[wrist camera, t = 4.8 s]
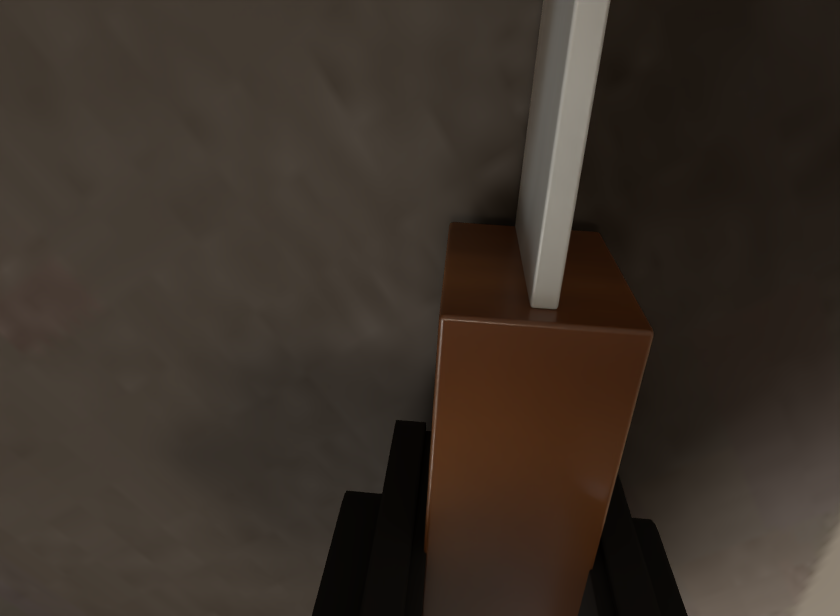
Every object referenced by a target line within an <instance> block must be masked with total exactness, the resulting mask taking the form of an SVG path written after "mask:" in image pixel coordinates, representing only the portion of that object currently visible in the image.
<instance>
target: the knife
mask: <svg viewBox="0 0 840 616" xmlns="http://www.w3.org/2000/svg"><path fill="white" fill-rule="evenodd" d="M610 1H611V0H543V6H542V14H541V22H540V30H539V38H538V46H537V54H536V62H535V70H534V78H533V86H532V94H531V102H530V110H529V118H528V126H527V134H526V142H525V150H524V158H523V166H522V174H521V182H520V191H519V199H518V207H517V215H516V223H515V226H504V225H489V224H475V223H460V222H452V223H450V225H449V233H448V242H447V251H446V260H445V269H444V278H443V287H442V296H441V305H440V314H439V327H438V342H437V357H436V371H435V386H434V401H433V416H432V431H431V446H430V461H429V476H428V491H427V506H426V521H425V535H424V552H425V553H426V566H425V580H424V594H423V608H422V616H578V613H579V609H580V605H581V601H582V597H583V594H584V590H585V586H586V582H587V578H588V574H589V570H591V569H593V565H594V561H595V557H596V554H597V550H598V546H599V542H600V538H601V535H602V531H603V527H604V523H605V519H606V515H607V512H608V508H609V504H610V500H611V496H612V493H613V489H614V485H615V481H616V477H617V473H618V470H619V466H620V462H621V458H622V454H623V451H624V447H625V443H626V439H627V435H628V431H629V428H630V424H631V420H632V416H633V412H634V409H635V405H636V401H637V397H638V393H639V389H640V386H641V382H642V378H643V374H644V370H645V367H646V363H647V359H648V355H649V351H650V347H651V344H652V340H653V336H654V332H653V329H652V328H651V326H650V324H649V322H648V320H647V318H646V317H645V315H644V313H643V311H642V309H641V308H640V306H639V304H638V302H637V300H636V298H635V297H634V295H633V293H632V291H631V289H630V288H629V286H628V284H627V282H626V280H625V278H624V277H623V275H622V273H621V271H620V269H619V268H618V266H617V264H616V262H615V260H614V258H613V257H612V255H611V253H610V251H609V249H608V248H607V246H606V244H605V242H604V240H603V238H602V237H601V235H600V233H598V232H591V231H576V230H571V229H572V223H573V217H574V211H575V205H576V199H577V194H578V188H579V182H580V176H581V170H582V164H583V159H584V153H585V147H586V141H587V135H588V129H589V124H590V118H591V112H592V106H593V100H594V94H595V88H596V83H597V77H598V71H599V65H600V59H601V53H602V48H603V42H604V36H605V30H606V24H607V18H608V13H609V7H610Z"/></svg>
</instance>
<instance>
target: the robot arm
mask: <svg viewBox="0 0 840 616" xmlns="http://www.w3.org/2000/svg"><path fill="white" fill-rule="evenodd" d="M430 446H431V431H426V423H425V422H414V421H402V420H396V423H395V428H394V434H393V439H392V444H391V450H390V455H389V460H388V466H387V471H386V476H385V482H384V487H383V492H382V494H376V493H365V492H355V491H346V493H345V494H344V498H343V501H342V504H341V508H340V512H339V516H338V519H337V523H336V527H335V531H334V534H333V538H332V542H331V546H330V549H329V553H328V557H327V561H326V565H325V568H324V572H323V576H322V580H321V583H320V587H319V591H318V595H317V598H316V602H315V606H314V610H313V614H312V616H422V608H423V594H424V580H425V566H426V553H425V552H424V535H425V521H426V506H427V491H428V476H429V461H430ZM578 616H687V613H686V610H685V607H684V604H683V601H682V598H681V595H680V593H679V590H678V587H677V584H676V581H675V578H674V575H673V572H672V569H671V567H670V564H669V561H668V558H667V555H666V552H665V549H664V546H663V544H662V541H661V538H660V535H659V532H658V530H657V528H656V525H655V524H654V523H653V522H652V520H650V519H640V518H632V517H631V514H630V511H629V507H628V504H627V501H626V498H625V494H624V491H623V488H622V484H621V481H620V478H619V475H618V473H617V477H616V481H615V485H614V489H613V493H612V496H611V500H610V504H609V508H608V512H607V515H606V519H605V523H604V527H603V531H602V535H601V538H600V542H599V546H598V550H597V554H596V557H595V561H594V565H593V569H591V570H589V574H588V578H587V582H586V586H585V590H584V594H583V597H582V601H581V605H580V609H579V613H578Z"/></svg>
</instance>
